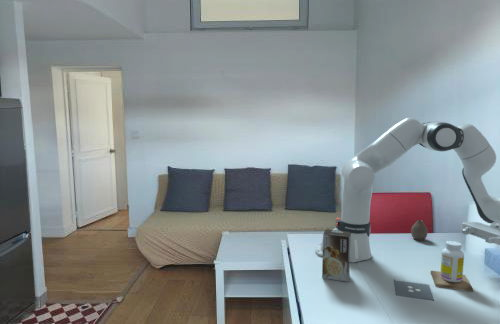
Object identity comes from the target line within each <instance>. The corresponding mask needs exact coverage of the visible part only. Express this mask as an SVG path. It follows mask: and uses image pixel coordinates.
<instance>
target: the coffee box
mask: <svg viewBox="0 0 500 324" xmlns="http://www.w3.org/2000/svg"><path fill="white" fill-rule="evenodd" d="M322 239H323V256H322V266H321V267H322V268H321V271H322V273H321V275H322V276H321V278H322V279H327V280H335V281H339V282H340V281H341V282H346V283H348V282H349V281H350V277H351V275H350V272H351V271H350V268H351V267H350V266H351V262H350V242H351V232H346V231H338V230H333V229H330V228H329V229H328V228H327V229H325V230H324V231H323V234H322Z"/></svg>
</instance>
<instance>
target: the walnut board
mask: <svg viewBox="0 0 500 324" xmlns="http://www.w3.org/2000/svg"><path fill="white" fill-rule="evenodd" d="M440 274H441V271H437V270H430V275H431V279H432V280H433V283H434V286H435V287H438V288H446V289H453V290H461V291H466V292H468V291H469V292H473V291H474V287H473V286H472V285H471V283H470V280H469V279H468V278H467V276H466V274H463V276H462V281H461V282H449V281H446V280H444V279H442V278H441V276H440Z"/></svg>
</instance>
